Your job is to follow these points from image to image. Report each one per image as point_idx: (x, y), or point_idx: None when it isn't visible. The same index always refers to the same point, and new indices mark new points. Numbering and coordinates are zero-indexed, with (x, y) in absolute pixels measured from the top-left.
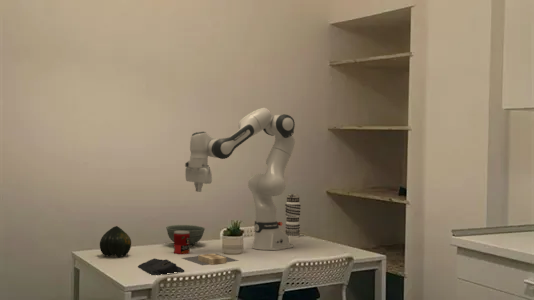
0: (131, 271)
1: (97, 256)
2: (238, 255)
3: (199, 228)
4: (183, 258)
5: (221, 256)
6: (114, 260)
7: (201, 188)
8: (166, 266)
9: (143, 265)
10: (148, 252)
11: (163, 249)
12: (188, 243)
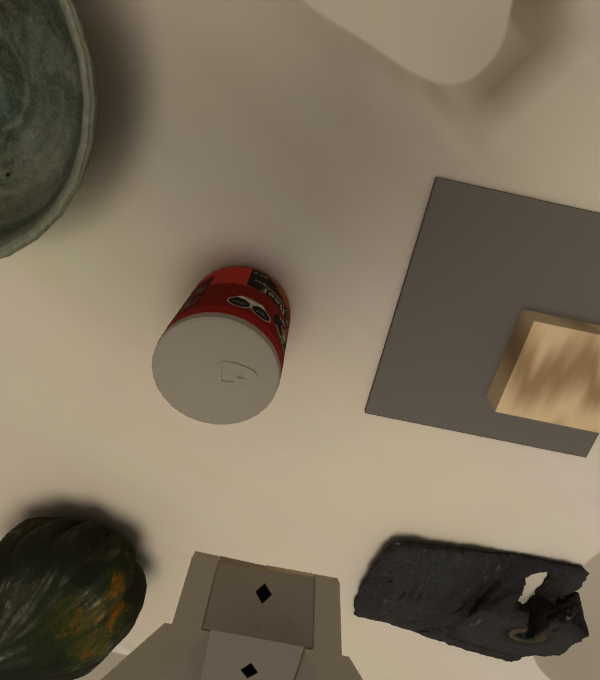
0: (402, 661)
1: None
2: (587, 74)
3: None
4: (383, 411)
5: None
6: (176, 598)
7: (339, 645)
8: (556, 649)
9: (388, 620)
10: (94, 410)
11: (57, 297)
12: (283, 322)
